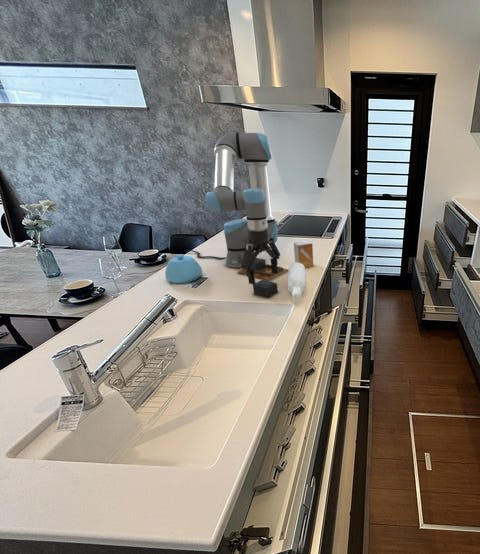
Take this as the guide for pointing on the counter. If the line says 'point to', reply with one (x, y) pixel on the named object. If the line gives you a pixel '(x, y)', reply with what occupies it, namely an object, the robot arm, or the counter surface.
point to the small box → (304, 253)
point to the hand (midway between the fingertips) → (264, 278)
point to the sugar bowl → (182, 269)
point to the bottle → (297, 280)
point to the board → (264, 270)
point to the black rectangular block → (265, 288)
